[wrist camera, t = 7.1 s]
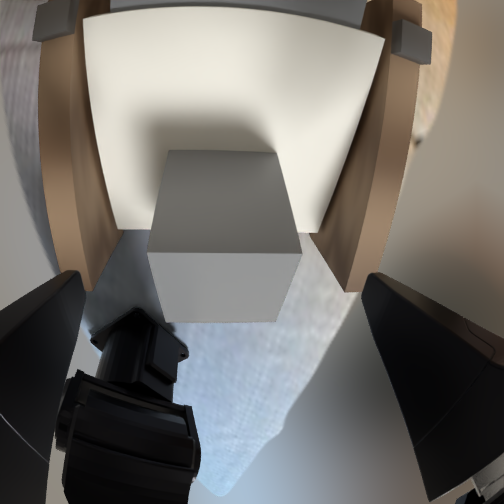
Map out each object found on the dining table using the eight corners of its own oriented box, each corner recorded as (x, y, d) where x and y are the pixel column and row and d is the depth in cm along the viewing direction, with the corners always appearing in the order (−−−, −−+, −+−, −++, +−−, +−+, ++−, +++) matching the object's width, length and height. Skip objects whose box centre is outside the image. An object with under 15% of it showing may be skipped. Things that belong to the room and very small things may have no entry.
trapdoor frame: (330, 236, 21) (377, 300, 14) (101, 232, 18) (59, 299, 12) (360, 23, 14) (432, 1, 7) (101, 8, 11) (45, -28, 5)
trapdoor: (309, 205, 20) (317, 233, 18) (126, 201, 18) (117, 229, 16) (370, -6, 9) (395, 0, 7) (105, -25, 7) (83, -24, 6)
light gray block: (262, 226, 17) (275, 321, 14) (175, 225, 17) (165, 322, 13) (276, 152, 14) (302, 253, 10) (168, 149, 13) (146, 252, 9)
